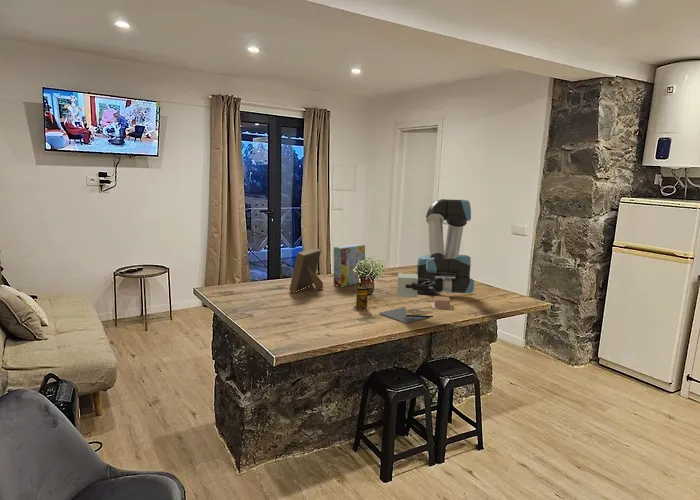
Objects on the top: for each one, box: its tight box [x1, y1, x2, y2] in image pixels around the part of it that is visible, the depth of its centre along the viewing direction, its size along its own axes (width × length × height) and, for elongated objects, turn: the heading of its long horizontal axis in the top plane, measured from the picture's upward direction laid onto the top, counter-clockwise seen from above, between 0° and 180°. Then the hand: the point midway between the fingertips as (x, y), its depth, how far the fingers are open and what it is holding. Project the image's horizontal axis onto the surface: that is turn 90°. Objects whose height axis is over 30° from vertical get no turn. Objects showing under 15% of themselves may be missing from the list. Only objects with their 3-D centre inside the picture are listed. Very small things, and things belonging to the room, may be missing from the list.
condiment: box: [350, 286, 370, 312], centre depth 252 cm, size 7×8×12 cm
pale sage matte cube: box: [396, 272, 418, 298], centre depth 240 cm, size 10×10×10 cm
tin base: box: [430, 295, 454, 310], centre depth 257 cm, size 11×11×6 cm
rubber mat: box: [378, 306, 434, 325], centre depth 242 cm, size 20×20×1 cm
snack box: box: [333, 243, 366, 288], centre depth 305 cm, size 22×9×26 cm, turn 133°
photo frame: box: [288, 247, 324, 293], centre depth 287 cm, size 15×22×25 cm
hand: (399, 282), depth 240 cm, fingers closed on pale sage matte cube, 10 cm apart
